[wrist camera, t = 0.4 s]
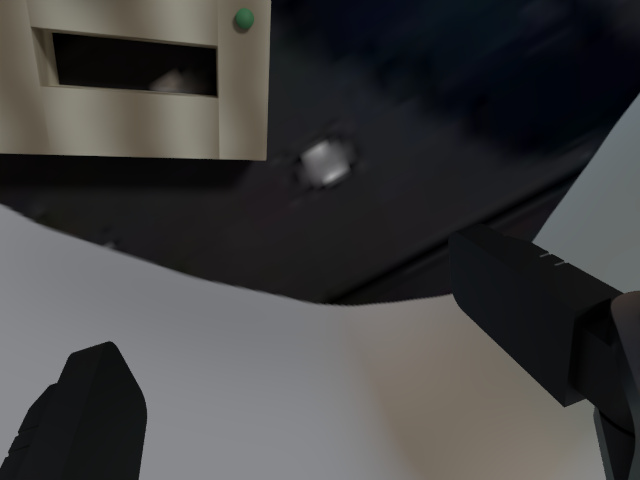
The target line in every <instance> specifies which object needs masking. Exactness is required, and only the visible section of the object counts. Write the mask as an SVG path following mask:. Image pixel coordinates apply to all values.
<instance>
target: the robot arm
mask: <svg viewBox="0 0 640 480" xmlns="http://www.w3.org/2000/svg"><path fill="white" fill-rule="evenodd" d="M449 260H450V278H451V289H452V293H453V296H454V298H455V300H456V302H457V304H458V306H459V307H460V308H461V309H462V310H463V311H464V312H465V313H466V314H467V315H468V316H469V317H470V318H471V319H472V320H473V321H474V322H475V323H476V324H477V325H478V326H479V327H480V328H481V329H482V330H483V331H484V332H486V333H487V334H488V335H489V336H490V337H491V338H492V339H493V340H494V341H495V342H496V343H497V344H498V345H499V346H500V347H501V348H502V349H504V351H506V352H507V353H508V354H509V355H510V356H511V357H512V358H513V359H514V360H515V361H516V362H517V363H518V364H519V365H520V366H521V367H522V368H523V369H524V370H525V371H527V372H528V373H529V374H530V375H531V376H532V377H533V378H534V379H535V380H536V381H537V382H538V383H539V384H540V385H541V386H542V387H543V388H544V389H545V390H547V391H548V392H549V393H550V394H551V395H552V396H553V397H554V398H555V399H556V400H557V401H558V402H559V403H560V404H561V405H562V406H563V407H567V406H569V405H572V404H574V403H576V402H579V401H581V400H584V399H587V400H589V401H590V402H591V403H592V404H593V405H594V406H595V408H594V414H593V417H594V423H595V428H596V432H597V438H598V442H599V447H600V452H601V457H602V461H603V466H604V471H605V475H606V480H640V291H633V292H628V293H625V294H624V293H622V292H620V291H619V290H617V289H615V288H613V287H611V286H609V285H608V284H606V283H604V282H602V281H600V280H599V279H597V278H595V277H593V276H591V275H589V274H588V273H586V272H584V271H582V270H580V269H579V268H577V267H575V266H573V265H571V264H569V263H565V262H564V260H562V259H560V258H559V257H557V256H555V255H553V254H551V255H550V254H549V252H548V251H545V250H544V249H542V248H540V247H539V246H537V245H535V244H533V243H531V242H528V241H525V240H521V239H517V238H513V237H509V236H506V237H505V236H504V235H502V234H500V233H498V232H497V231H495V230H493V229H491V228H490V227H488V226H486V225H484V224H478V225H474V226H471V227H468V228H465V229H462V230H459V231H456V232H453V233H451V234H450V236H449ZM146 424H147V408H146V402H145V399H144V396H143V393H142V391H141V389H140V387H139V385H138V384H137V382H136V380H135V378H134V376H133V374H132V373H131V371H130V369H129V367H128V365H127V364H126V362H125V360H124V358H123V357H122V355H121V353H120V351H119V349H118V348H117V346H116V345H115V344H114V343H113V342H110V341H109V342H105V343H102V344H99V345H96V346H93V347H89V348H86V349H83V350H80V351H77V352H74V353H72V354H71V355H70V356H69V357H68V360H67V362H66V364H65V366H64V369H63V371H62V373H61V375H60V378H59V380H58V382H57V383H55V384H52V385H50V386H49V387H48V388H47V389H46V390H45V391H44V393H43V394H42V395H41V396H40V397H39V398H38V399H37V400H36V401H35V402H34V404H33V405H32V406H31V407H30V408H29V410H28V412H27V414H26V416H25V418H24V420H23V422H22V425H21V427H20V429H19V431H18V433H19V435H18V436H16V437H15V439H14V441H13V443H12V445H11V447H10V449H9V451H8V453H9V456H8V457H6V458H5V459H4V462H3V464H2V466H1V468H0V480H139V473H140V465H141V458H142V451H143V445H144V438H145V431H146Z"/></svg>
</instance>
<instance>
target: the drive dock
mask: <svg viewBox="0 0 640 480" xmlns="http://www.w3.org/2000/svg"><path fill="white" fill-rule="evenodd" d="M270 13H271V0H0V153H9V154H46V155H83V156H120V157H157V158H194V159H232V160H266V147H267V114H268V80H269V47H270ZM52 32H55V33H65V34H75V35H84V36H94V37H104V38H114V39H124V40H134V41H144V42H154V43H164V44H174V45H184V46H194V47H204V48H214V49H216V96H215V95H201V94H186V93H172V92H158V91H143V90H129V89H114V88H100V87H85V86H71V85H59V79H58V72H57V65H56V58H55V51H54V44H53V37H52Z"/></svg>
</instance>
